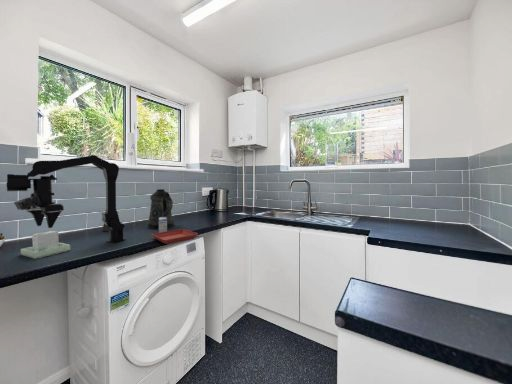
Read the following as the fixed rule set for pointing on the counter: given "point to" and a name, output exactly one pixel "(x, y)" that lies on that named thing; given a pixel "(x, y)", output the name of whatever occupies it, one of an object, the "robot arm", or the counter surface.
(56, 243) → the aluminium block
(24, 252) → the tray
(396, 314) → the counter surface
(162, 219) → the medicine box
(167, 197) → the dark olive backpack
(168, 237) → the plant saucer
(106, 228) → the door stopper
